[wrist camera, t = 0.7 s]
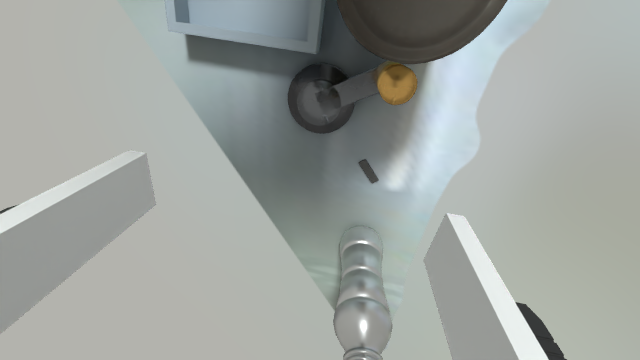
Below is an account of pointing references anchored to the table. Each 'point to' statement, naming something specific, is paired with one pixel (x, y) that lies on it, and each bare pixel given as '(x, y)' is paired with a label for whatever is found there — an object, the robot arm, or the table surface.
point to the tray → (251, 21)
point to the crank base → (305, 77)
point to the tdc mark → (368, 171)
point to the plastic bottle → (362, 297)
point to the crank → (355, 91)
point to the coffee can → (417, 26)
